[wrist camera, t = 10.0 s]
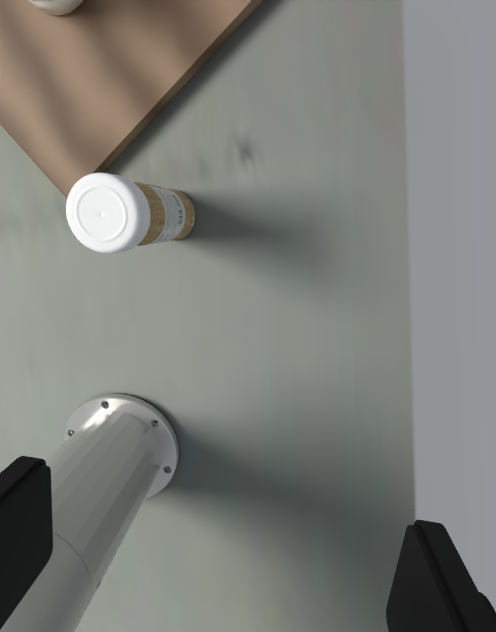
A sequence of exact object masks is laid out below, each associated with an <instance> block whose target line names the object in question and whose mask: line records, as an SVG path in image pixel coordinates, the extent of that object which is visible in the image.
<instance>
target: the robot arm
mask: <svg viewBox="0 0 496 632" xmlns="http://www.w3.org/2000/svg"><path fill="white" fill-rule="evenodd" d="M178 461H179V446H178V440H177V438H176V435H175V432H174V430H173V428H172V427H171V425H170V423H169V422H168V420H167V419H166V418H165V417H164V416H163V415H162V413H160V412H159V411H158V410H157V409H156V408H154V407H153V406H152V405H150V404H148V403H147V402H145V401H143V400H141V399H138V398H136V397H133V396H129V395H124V394H106V395H101V396H98V397H95V398H93V399H90V400H89V401H87V402H86V403H84V404H83V405H82V406H81V407H80V408H79V409H77V410H76V411H75V412H74V414H73V415H72V416H71V418H70V419H69V421H68V424H67V426H66V429H65V435H64V444H63V445H62V446H61V447H60V448H59V449H58V450H57V451H56V452H55V453H54V454H53V455H52V456H51V457H49V458H48V459H47V460H46V461H45V460H43V459H39V458H33V457H26V456H21V457H19V458H17V459H16V460H15V461H14V462H13V463H11V464H10V465H9V466H8V467H7V468H6V469H5V470H3V471H2V472H1V473H0V632H75V630H76V628H77V626H78V624H79V622H80V620H81V618H82V616H83V614H84V612H85V610H86V609H87V607H88V605H89V603H90V601H91V599H92V597H93V596H94V594H95V592H96V590H97V588H98V586H99V584H100V582H101V580H102V579H103V577H104V575H105V573H106V571H107V569H108V567H109V565H110V563H111V561H112V559H113V558H114V556H115V554H116V552H117V550H118V548H119V546H120V544H121V542H122V540H123V539H124V537H125V535H126V533H127V531H128V529H129V527H130V525H131V523H132V522H133V520H134V518H135V516H136V514H137V512H138V510H139V508H140V506H141V505H142V503H143V501H144V499H145V498H149V497H151V496H153V495H155V494H157V493H159V492H160V491H161V490H162V489H163V488H165V487H166V486H167V484H168V483H169V481H170V480H171V479H172V477H173V475H174V473H175V470H176V468H177V464H178ZM386 618H387V625H388V630H389V632H496V612H495V610H494V608H493V607H492V605H491V603H490V602H489V600H488V599H487V597H486V596H484V595H483V594H482V593H480V592H478V590H477V588H476V586H475V584H474V582H473V581H472V578H471V576H470V575H469V573H468V571H467V569H466V567H465V565H464V563H463V561H462V559H461V557H460V555H459V554H458V551H457V550H456V548H455V546H454V544H453V542H452V540H451V538H450V536H449V534H448V532H447V530H446V528H445V527H444V526H443V525H442V524H441V523H435V522H429V521H423V520H416V521H415V523H414V525H408V526H407V529H406V533H405V537H404V541H403V545H402V549H401V552H400V556H399V560H398V564H397V568H396V572H395V576H394V580H393V584H392V588H391V592H390V596H389V600H388V604H387V609H386Z"/></svg>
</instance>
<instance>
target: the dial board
mask: <svg viewBox="0 0 496 632" xmlns="http://www.w3.org/2000/svg"><path fill="white" fill-rule="evenodd" d="M262 1H263V0H83V2H82V3H81V4H80V5H79V6H78V7H77V8H76V9H75V10H73V11H72V12H70V13H68V14H64V15H51V14H47V13H45V12H43V11H41V10H39V9H38V8H37V7H35V6H34V5H33V4H32V3H31V2H29V1H28V0H0V125H1V126H2V127H3V128H4V129H5V130H6V131H7V132H8V134H9V135H10V136H11V137H12V138H13V139H14V140H15V141H16V142H17V144H18V145H19V146H20V147H21V148H22V149H23V150H24V151H25V153H26V154H27V155H28V156H29V157H30V158H31V159H32V160H33V161H34V163H35V164H36V165H37V166H38V167H39V168H40V169H41V170H42V172H43V173H44V174H45V175H46V176H47V177H48V178H49V179H50V180H51V182H52V183H53V184H54V185H55V186H56V187H57V188H58V189H59V190H60V192H61V193H62V194H63V195H64V196H65V197H66V198H68V195H69V193H70V191H71V189H72V187H73V186H74V185H75V184H76V183H77V181H79V180H80V179H81V178H83V177H84V176H87V175H89V174H93V173H103V172H104V171H105V170H106V169H107V168H108V167H109V166H110V165H111V164H112V163H113V162H114V160H115V159H116V158H117V157H118V156H119V155H120V154H121V153H122V152H123V151H124V150H125V149H126V148H127V146H128V145H129V144H130V143H131V142H132V141H133V140H134V139H135V138H136V137H137V136H138V135H139V134H140V132H141V131H142V130H143V129H144V128H145V127H146V126H147V125H148V124H149V123H150V122H151V121H152V120H153V119H154V117H155V116H156V115H157V114H158V113H159V112H160V111H161V110H162V109H163V108H164V107H165V106H166V105H167V103H168V102H169V101H170V100H171V99H172V98H173V97H174V96H175V95H176V94H177V93H178V92H179V91H180V90H181V88H182V87H183V86H184V85H185V84H186V83H187V82H188V81H189V80H190V79H191V78H192V77H193V76H194V74H195V73H196V72H197V71H198V70H199V69H200V68H201V67H202V66H203V65H204V64H205V63H206V62H207V61H208V59H209V58H210V57H211V56H212V55H213V54H214V53H215V52H216V51H217V50H218V49H219V48H220V47H221V45H222V44H223V43H224V42H225V41H226V40H227V39H228V38H229V37H230V36H231V35H232V34H233V33H234V32H235V30H236V29H237V28H238V27H239V26H240V25H241V24H242V23H243V22H244V21H245V20H246V19H247V18H248V16H249V15H250V14H251V13H252V12H253V11H254V10H255V9H256V8H257V7H258V6H259V5H260V4H261V3H262Z"/></svg>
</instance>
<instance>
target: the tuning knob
mask: <svg viewBox="0 0 496 632" xmlns="http://www.w3.org/2000/svg"><path fill="white" fill-rule="evenodd" d="M28 1H29V2H31V3H32V4H33V5H34V6H35V7H37V8H38V9H39V10H41V11H43V12H45V13H47V14H51V15H64V14H68V13H70V12H72V11H73V10H75V9H76V8H77V7H78V6H79V5H80V4H81V3H82V2H83V0H28Z"/></svg>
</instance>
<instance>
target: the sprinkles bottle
mask: <svg viewBox="0 0 496 632" xmlns="http://www.w3.org/2000/svg"><path fill="white" fill-rule="evenodd" d="M66 213H67V219H68V223H69V225H70V228H71V230H72V232H73V233H74V235H75V236H76V237H77V239H78V240H79V241H80V242H81V243H82V244H84V245H85V246H86V247H88V248H90V249H92V250H94V251H97V252H101V253H116V252H122V251H126V250H129V249H132V248H134V247H135V246H143V245H148V244H154V243H159V242H165V241H169V240H179V239H181V238H184V237H185V236H186V235H187V234H189V232H190V231H191V230H192V228H193V226H194V223H195V209H194V207H193V204H192V202H191V201H190V199H189V198H188V197H187V196H186V195H185V194H183V193H182V192H180V191H178V190H173V189H163V188H161V187H158V186H154V185H150V184H142V183H137V182H132V181H131V180H129V179H127V178H125V177H122V176H118V175H114V174H109V173H93V174H89V175H87V176H84V177H83V178H81V179H80V180H79V181H77V183H76V184H75V185H74V186H73V187H72V189H71V191H70V193H69V195H68V198H67V203H66Z"/></svg>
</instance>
